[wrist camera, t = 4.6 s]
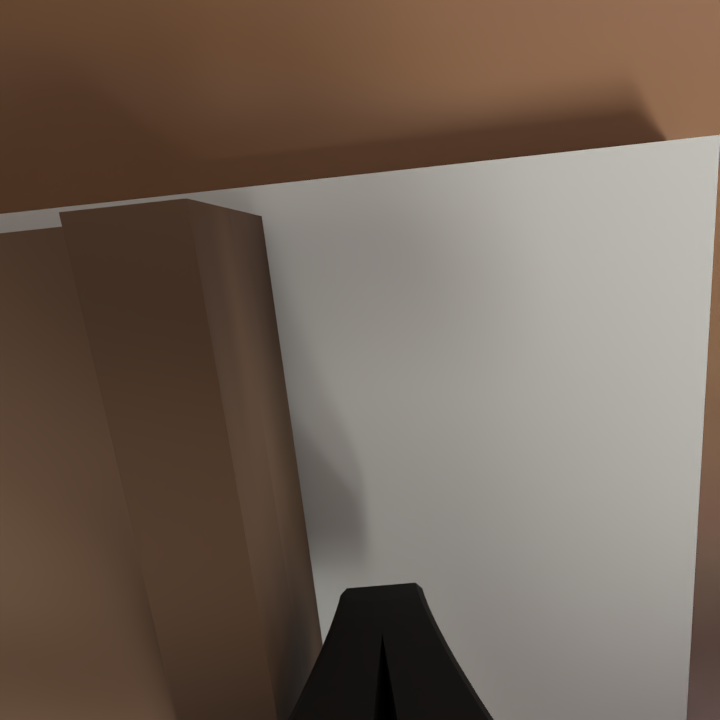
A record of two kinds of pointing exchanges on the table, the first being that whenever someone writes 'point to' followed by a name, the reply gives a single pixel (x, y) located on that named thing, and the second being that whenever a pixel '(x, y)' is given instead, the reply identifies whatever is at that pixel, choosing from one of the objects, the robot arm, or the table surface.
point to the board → (504, 406)
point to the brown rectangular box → (148, 473)
